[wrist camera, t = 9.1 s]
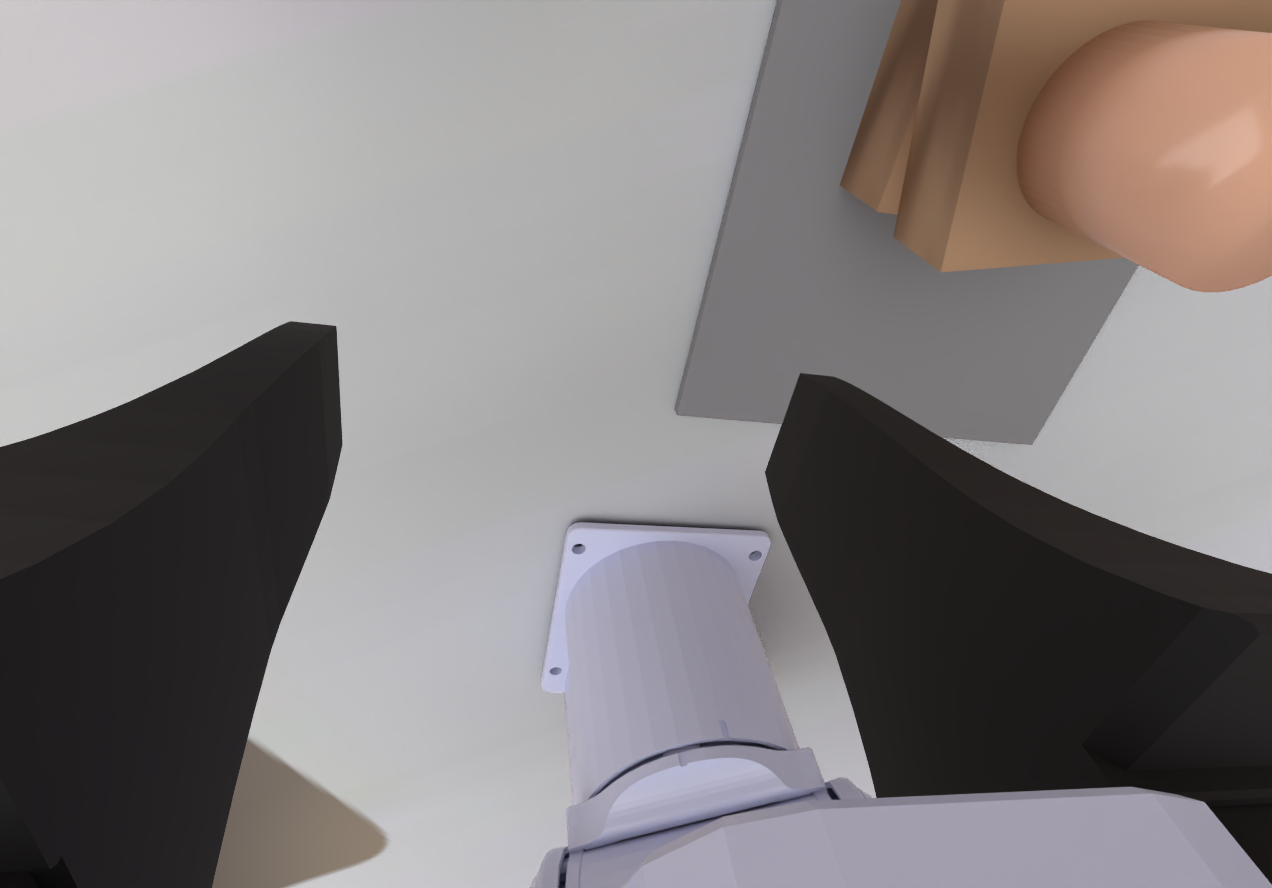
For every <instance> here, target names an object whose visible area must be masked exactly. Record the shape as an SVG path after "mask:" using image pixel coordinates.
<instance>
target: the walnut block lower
mask: <svg viewBox="0 0 1272 888" xmlns="http://www.w3.org/2000/svg"><path fill="white" fill-rule="evenodd" d="M937 3H938V0H901V2H900V5H899V8H898V11H897V14H896V17H895V20H894V23H893V26H892V29H891V32H890V35H889V38H888V41H887V44H886V47H885V50H884V53H883V56H882V59H881V62H880V65H879V68H878V71H877V74H876V77H875V80H874V83H873V86H872V89H871V92H870V95H869V98H868V101H867V104H866V108H865V111H864V114H863V117H862V120H861V123H860V126H859V129H858V132H857V135H856V138H855V141H854V144H853V147H852V150H851V153H850V156H849V159H848V162H847V165H846V168H845V171H844V174H843V177H842V180H841V183H840V186H842V187H843V188H844V189H846V190H847V191H849V192H850V193H851V194H853V195H854V196H856V197H857V198H858V199H860V200H861V201H863V202H864V203H865V204H867V205H868V206H870V207H871V208H872V209H874V210H875V211H877V212H882V213H889V214H895V215H897V214H898V209H899V204H900V199H901V193H902V188H903V183H904V177H905V172H906V167H907V162H908V156H909V151H910V146H911V141H912V135H913V130H914V125H915V119H916V114H917V109H918V104H919V98H920V93H921V88H922V82H923V77H924V72H925V67H926V61H927V56H928V51H929V45H930V40H931V35H932V30H933V24H934V19H935V14H936V8H937Z"/></svg>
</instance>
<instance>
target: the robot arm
mask: <svg viewBox="0 0 1272 888" xmlns="http://www.w3.org/2000/svg"><path fill="white" fill-rule="evenodd" d="M341 448H342V428H341V408H340V389H339V369H338V350H337V331H336V326H330V325H320V324H311V323H301V322H291V321H290V322H288V323H285V324H283V325H281V326H278V327H276V328H274V329H272V330H270V331H268V332H267V333H265V334H263V335H261V336H259V337H257V338H255V339H254V340H252V341H250V342H248V343H246V344H244V345H243V346H241V347H239V348H237V349H235V350H233V351H231V352H230V353H228V354H226V355H224V356H222V357H220V358H218V359H216V360H215V361H213V362H211V363H209V364H207V365H205V366H203V367H201V368H200V369H198V370H196V371H194V372H192V373H190V374H187V375H185V376H183V377H181V378H179V379H177V380H175V381H173V382H170V383H168V384H166V385H164V386H162V387H160V388H158V389H156V390H153V391H151V392H149V393H147V394H145V395H143V396H141V397H139V398H136V399H134V400H132V401H130V402H127V403H125V404H123V405H120V406H118V407H116V408H113V409H111V410H108V411H106V412H103V413H101V414H98V415H96V416H93V417H90V418H88V419H85V420H82V421H79V422H76V423H74V424H71V425H68V426H65V427H63V428H60V429H57V430H54V431H52V432H49V433H46V434H43V435H40V436H37V437H34V438H31V439H27V440H24V441H20V442H17V443H13V444H10V445H6V446H3V447H0V888H212V884H213V880H214V875H215V871H216V866H217V862H218V858H219V853H220V849H221V845H222V841H223V836H224V832H225V828H226V824H227V819H228V815H229V811H230V807H231V802H232V797H233V793H234V789H235V785H236V781H237V777H238V773H239V769H240V765H241V762H242V758H243V753H244V750H245V746H246V742H247V738H248V734H249V730H250V726H251V722H252V718H253V714H254V711H255V707H256V703H257V699H258V696H259V692H260V688H261V685H262V681H263V677H264V674H265V670H266V666H267V663H268V659H269V655H270V652H271V649H272V646H273V643H274V640H275V637H276V634H277V631H278V628H279V625H280V622H281V620H282V617H283V615H284V612H285V610H286V607H287V605H288V602H289V600H290V597H291V595H292V592H293V590H294V587H295V585H296V582H297V580H298V578H299V575H300V573H301V570H302V568H303V565H304V563H305V560H306V558H307V555H308V553H309V550H310V548H311V545H312V543H313V540H314V538H315V535H316V533H317V530H318V528H319V525H320V522H321V520H322V517H323V515H324V512H325V510H326V507H327V504H328V502H329V499H330V495H331V491H332V487H333V483H334V479H335V475H336V471H337V466H338V462H339V457H340V453H341ZM765 474H766V478H767V483H768V487H769V491H770V495H771V499H772V503H773V506H774V509H775V513H776V516H777V520H778V523H779V525H780V527H781V530H782V532H783V535H784V537H785V539H786V542H787V544H788V546H789V548H790V551H791V553H792V555H793V558H794V560H795V562H796V564H797V566H798V569H799V571H800V573H801V575H802V578H803V580H804V582H805V584H806V586H807V589H808V591H809V593H810V595H811V598H812V600H813V602H814V604H815V606H816V609H817V611H818V613H819V615H820V617H821V620H822V622H823V624H824V626H825V629H826V631H827V634H828V636H829V639H830V641H831V644H832V646H833V649H834V651H835V654H836V657H837V660H838V663H839V666H840V669H841V673H842V676H843V679H844V682H845V685H846V688H847V691H848V695H849V698H850V701H851V704H852V707H853V711H854V714H855V718H856V721H857V725H858V728H859V732H860V735H861V739H862V743H863V746H864V750H865V753H866V757H867V760H868V764H869V768H870V772H871V776H872V780H873V784H874V788H875V792H876V797H877V798H872V797H871V796H870V795H868V794H867V793H865V792H863V791H862V790H860V789H859V788H857V787H856V786H855V785H854V784H853V783H852V782H851V781H850V780H848V779H846V778H837V779H834V780H831V781H828V782H826V783H824V780H823V777H822V775H821V772H820V769H819V767H818V764H817V762H816V759H815V756H814V754H813V751H812V749H811V748H802V749H800V748H799V746H798V743H797V740H796V737H795V735H794V732H793V729H792V726H791V724H790V721H789V718H788V715H787V712H786V710H785V707H784V704H783V701H782V699H781V696H780V693H779V690H778V688H777V685H776V682H775V679H774V676H773V674H772V671H771V668H770V665H769V663H768V660H767V657H766V654H765V652H764V649H763V646H762V643H761V640H760V638H759V635H758V632H757V629H756V627H755V624H754V621H753V618H752V616H751V613H750V610H749V607H748V603H749V600H750V598H751V595H752V593H753V590H754V587H755V585H756V582H757V580H758V577H759V575H760V572H761V569H762V567H763V564H764V562H765V559H766V556H767V554H768V551H769V549H770V546H771V541H770V539H769V537H768V535H767V533H765V532H763V531H754V530H733V529H712V528H690V527H669V526H648V525H627V524H605V523H584V522H581V523H575V524H573V525H571V526H570V527H569V528H568V530H567V532H566V538H565V543H564V549H563V555H562V561H561V567H560V572H559V578H558V584H557V590H556V596H555V601H554V607H553V613H552V619H551V625H550V630H549V636H548V642H547V648H546V654H545V659H544V665H543V671H542V677H541V687H542V689H543V690H544V691H546V692H549V693H565V704H566V718H567V732H568V746H569V761H570V775H571V789H572V803H573V806H570V807H568V808H567V809H566V816H567V832H568V846H567V847H561V848H555V849H552V850H550V851H549V852H548V853H547V854H546V856H545V857H544V859H543V861H542V864H541V867H540V870H539V871H538V873H537V875H536V877H535V878H534V880H533V882H532V884H531V887H530V888H1272V574H1270V573H1267V572H1263V571H1259V570H1255V569H1251V568H1248V567H1244V566H1241V565H1238V564H1234V563H1231V562H1228V561H1225V560H1222V559H1219V558H1215V557H1212V556H1209V555H1206V554H1203V553H1200V552H1196V551H1193V550H1190V549H1187V548H1184V547H1181V546H1178V545H1175V544H1172V543H1169V542H1166V541H1164V540H1161V539H1158V538H1155V537H1152V536H1149V535H1146V534H1144V533H1141V532H1138V531H1136V530H1133V529H1131V528H1128V527H1126V526H1123V525H1120V524H1118V523H1115V522H1113V521H1110V520H1108V519H1105V518H1102V517H1100V516H1097V515H1095V514H1092V513H1090V512H1088V511H1085V510H1083V509H1080V508H1078V507H1076V506H1073V505H1071V504H1069V503H1066V502H1064V501H1062V500H1060V499H1058V498H1056V497H1053V496H1051V495H1049V494H1047V493H1045V492H1043V491H1041V490H1039V489H1036V488H1034V487H1032V486H1030V485H1028V484H1026V483H1024V482H1022V481H1020V480H1018V479H1016V478H1014V477H1012V476H1010V475H1008V474H1006V473H1004V472H1002V471H1000V470H998V469H996V468H994V467H993V466H991V465H989V464H987V463H985V462H984V461H982V460H980V459H978V458H976V457H975V456H973V455H971V454H969V453H967V452H966V451H964V450H962V449H960V448H959V447H957V446H955V445H953V444H952V443H950V442H948V441H947V440H945V439H943V438H941V437H940V436H938V435H936V434H935V433H933V432H931V431H930V430H928V429H926V428H925V427H923V426H922V425H920V424H918V423H917V422H915V421H913V420H912V419H910V418H908V417H907V416H905V415H904V414H902V413H900V412H899V411H897V410H895V409H894V408H892V407H890V406H889V405H887V404H885V403H884V402H882V401H880V400H879V399H877V398H875V397H874V396H872V395H870V394H868V393H867V392H865V391H863V390H861V389H860V388H858V387H856V386H854V385H852V384H850V383H848V382H846V381H844V380H841V379H839V378H836V377H834V376H824V375H814V374H804V373H800V375H799V377H798V380H797V383H796V386H795V389H794V392H793V394H792V397H791V400H790V403H789V406H788V409H787V411H786V414H785V417H784V420H783V423H782V426H781V428H780V431H779V434H778V437H777V440H776V443H775V445H774V448H773V451H772V454H771V457H770V460H769V462H768V465H767V468H766V471H765ZM576 544H583V545H582V546H581V547H574V545H576ZM754 551H757V552H756V553H753V554H750V553H752V552H754ZM554 667H555V668H554Z"/></svg>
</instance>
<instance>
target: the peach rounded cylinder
mask: <svg viewBox="0 0 1272 888" xmlns="http://www.w3.org/2000/svg"><path fill="white" fill-rule="evenodd" d="M1017 176H1018V182H1019V185H1020V189H1021V192H1022V194H1023V196H1024V198H1025V200H1026V201H1027V203H1028V204H1029V205H1030V206H1031V208H1032V209H1033V210H1034V211H1036V212H1037V213H1038V214H1039V215H1041V216H1043V217H1044V218H1046V219H1048V220H1050V221H1052V222H1054V223H1056V224H1058V225H1060V226H1062V227H1064V228H1066V229H1068V230H1070V231H1072V232H1074V233H1076V234H1078V235H1080V236H1082V237H1084V238H1086V239H1088V240H1090V241H1092V242H1094V243H1096V244H1098V245H1100V246H1102V247H1104V248H1106V249H1108V250H1110V251H1112V252H1114V253H1116V254H1118V255H1120V256H1122V257H1124V258H1126V259H1128V260H1130V261H1132V262H1134V263H1136V264H1138V265H1140V266H1142V267H1144V268H1146V269H1148V270H1150V271H1152V272H1154V273H1156V274H1158V275H1160V276H1162V277H1164V278H1166V279H1168V280H1170V281H1172V282H1174V283H1176V284H1178V285H1180V286H1182V287H1185V288H1188V289H1191V290H1194V291H1200V292H1223V291H1230V290H1234V289H1238V288H1242V287H1245V286H1248V285H1251V284H1254V283H1257V282H1259V281H1261V280H1263V279H1266V278H1268V277H1270V276H1272V33H1266V32H1256V31H1247V30H1238V29H1228V28H1219V27H1210V26H1200V25H1191V24H1182V23H1172V22H1163V21H1151V20H1145V21H1135V22H1131V23H1127V24H1123V25H1120V26H1117V27H1115V28H1112V29H1110V30H1108V31H1106V32H1104V33H1102V34H1100V35H1098V36H1096V37H1095V38H1093V39H1092V40H1090V41H1089V42H1087V43H1086V44H1084V45H1083V46H1082V47H1080V48H1079V49H1078V50H1077V51H1076V52H1074V53H1073V54H1072V55H1071V56H1070V57H1069V58H1068V59H1067V60H1066V61H1065V62H1064V63H1063V64H1062V65H1061V66H1060V67H1059V68H1058V69H1057V70H1056V71H1055V73H1054V74H1053V75H1052V76H1051V77H1050V79H1049V80H1048V81H1047V83H1046V84H1045V86H1044V87H1043V89H1042V90H1041V91H1040V93H1039V95H1038V96H1037V98H1036V100H1035V102H1034V103H1033V105H1032V107H1031V109H1030V112H1029V114H1028V116H1027V118H1026V121H1025V123H1024V126H1023V129H1022V132H1021V136H1020V140H1019V145H1018V152H1017Z"/></svg>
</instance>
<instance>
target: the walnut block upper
mask: <svg viewBox="0 0 1272 888" xmlns="http://www.w3.org/2000/svg"><path fill="white" fill-rule="evenodd" d="M1145 20H1151V21H1163V22H1172V23H1182V24H1191V25H1200V26H1210V27H1219V28H1228V29H1238V30H1247V31H1256V32H1266V33H1271V31H1272V0H938V3H937V8H936V14H935V19H934V24H933V30H932V35H931V40H930V45H929V51H928V56H927V61H926V67H925V72H924V77H923V82H922V88H921V93H920V98H919V104H918V109H917V114H916V119H915V125H914V130H913V135H912V141H911V146H910V151H909V156H908V162H907V167H906V172H905V177H904V183H903V188H902V193H901V199H900V204H899V209H898V214H897V220H896V225H895V230H894V236H893V237H894V238H895V239H897V240H898V241H899V242H901V243H902V244H903V245H905V246H906V247H907V248H909V249H910V250H911V251H913V252H914V253H915V254H917V255H918V256H919V257H921V258H922V259H923V260H925V261H926V262H927V263H929V264H930V265H931V266H933V267H934V268H935V269H937V270H938V271H940V272H951V271H964V270H976V269H989V268H1001V267H1013V266H1026V265H1038V264H1051V263H1063V262H1076V261H1088V260H1101V259H1113V258H1124V257H1122V256H1120V255H1118V254H1116V253H1114V252H1112V251H1110V250H1108V249H1106V248H1104V247H1102V246H1100V245H1098V244H1096V243H1094V242H1092V241H1090V240H1088V239H1086V238H1084V237H1082V236H1080V235H1078V234H1076V233H1074V232H1072V231H1070V230H1068V229H1066V228H1064V227H1062V226H1060V225H1058V224H1056V223H1054V222H1052V221H1050V220H1048V219H1046V218H1044V217H1043V216H1041V215H1039V214H1038V213H1037V212H1036V211H1034V210H1033V209H1032V208H1031V206H1030V205H1029V204H1028V203H1027V201H1026V200H1025V198H1024V196H1023V194H1022V192H1021V189H1020V185H1019V182H1018V176H1017V152H1018V145H1019V140H1020V136H1021V132H1022V129H1023V126H1024V123H1025V121H1026V118H1027V116H1028V114H1029V112H1030V109H1031V107H1032V105H1033V103H1034V102H1035V100H1036V98H1037V96H1038V95H1039V93H1040V91H1041V90H1042V89H1043V87H1044V86H1045V84H1046V83H1047V81H1048V80H1049V79H1050V77H1051V76H1052V75H1053V74H1054V73H1055V71H1056V70H1057V69H1058V68H1059V67H1060V66H1061V65H1062V64H1063V63H1064V62H1065V61H1066V60H1067V59H1068V58H1069V57H1070V56H1071V55H1072V54H1073V53H1074V52H1076V51H1077V50H1078V49H1079V48H1080V47H1082V46H1083V45H1084V44H1086V43H1087V42H1089V41H1090V40H1092V39H1093V38H1095V37H1096V36H1098V35H1100V34H1102V33H1104V32H1106V31H1108V30H1110V29H1112V28H1115V27H1117V26H1120V25H1123V24H1127V23H1131V22H1135V21H1145Z"/></svg>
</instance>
